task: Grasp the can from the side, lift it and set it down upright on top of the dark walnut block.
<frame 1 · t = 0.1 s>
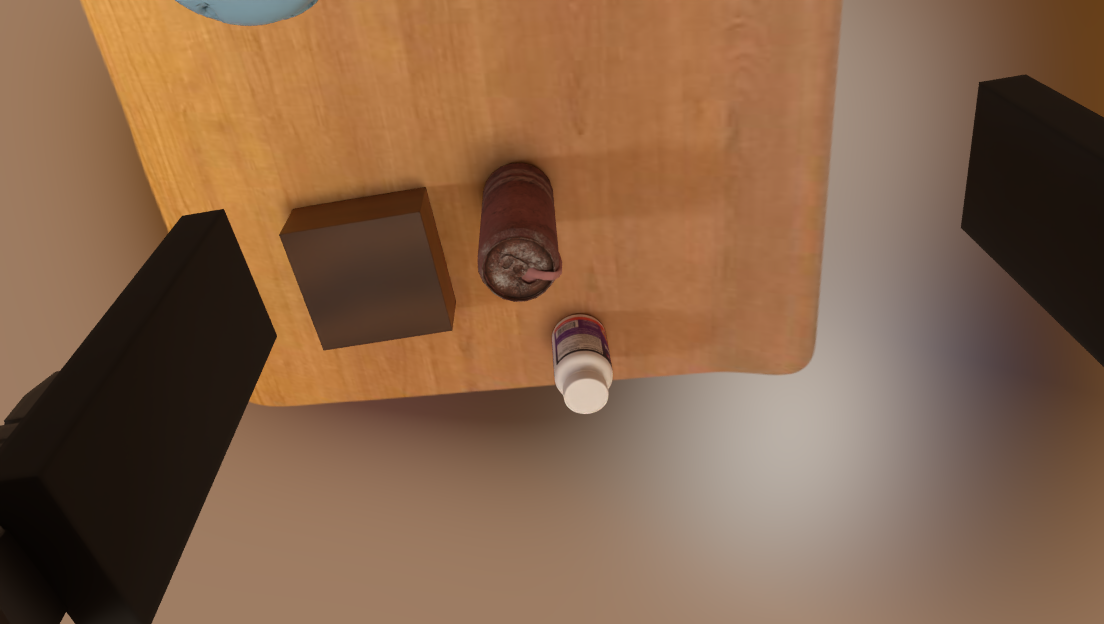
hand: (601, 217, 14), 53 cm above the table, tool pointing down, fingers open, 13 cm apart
walnut block: (377, 257, 75), on the table
can: (519, 192, 72), on the table
pill bottle: (578, 334, 80), on the table
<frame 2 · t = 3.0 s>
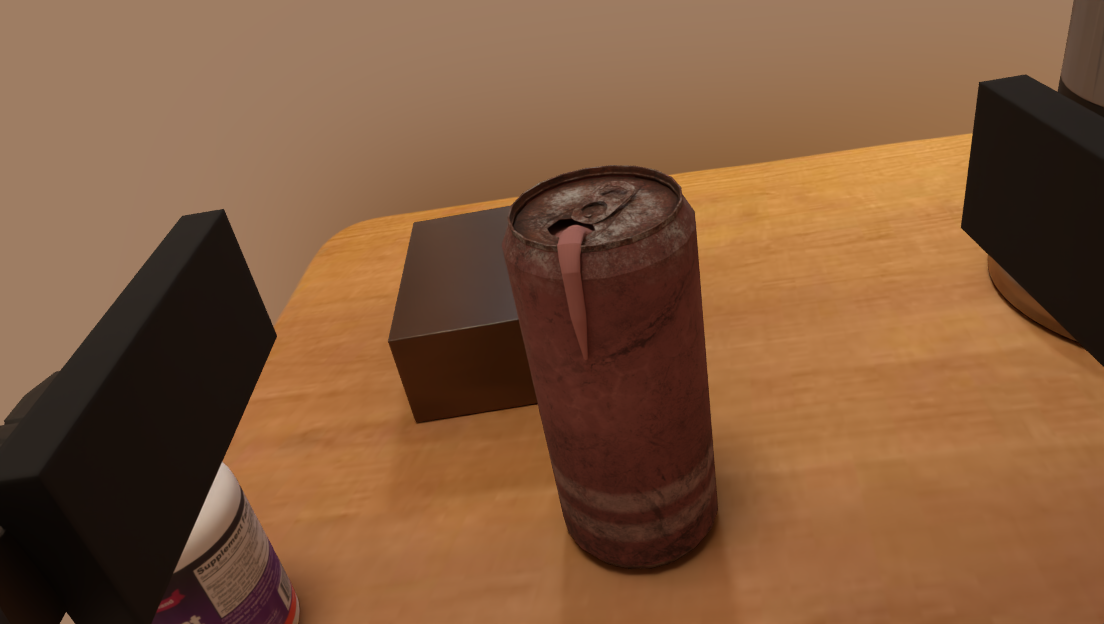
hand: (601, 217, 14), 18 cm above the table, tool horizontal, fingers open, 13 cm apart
walnut block: (533, 333, 44), on the table
can: (641, 519, 33), on the table
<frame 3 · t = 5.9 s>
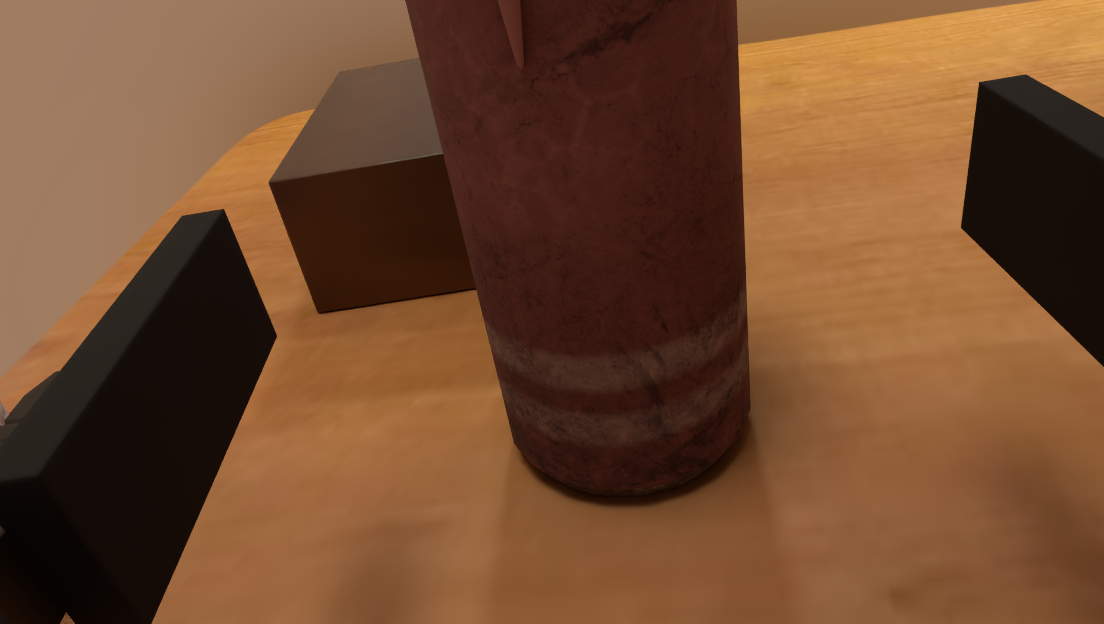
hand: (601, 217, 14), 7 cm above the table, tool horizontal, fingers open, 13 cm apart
walnut block: (491, 211, 33), on the table
can: (629, 428, 21), on the table
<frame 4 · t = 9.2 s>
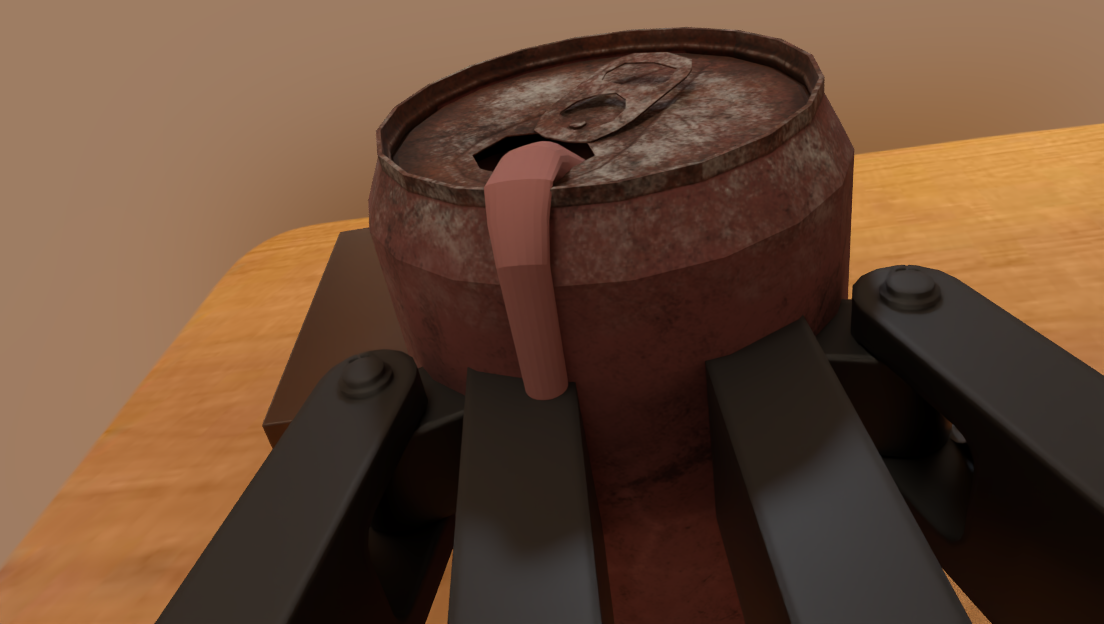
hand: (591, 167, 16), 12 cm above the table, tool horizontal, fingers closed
walnut block: (507, 398, 30), on the table
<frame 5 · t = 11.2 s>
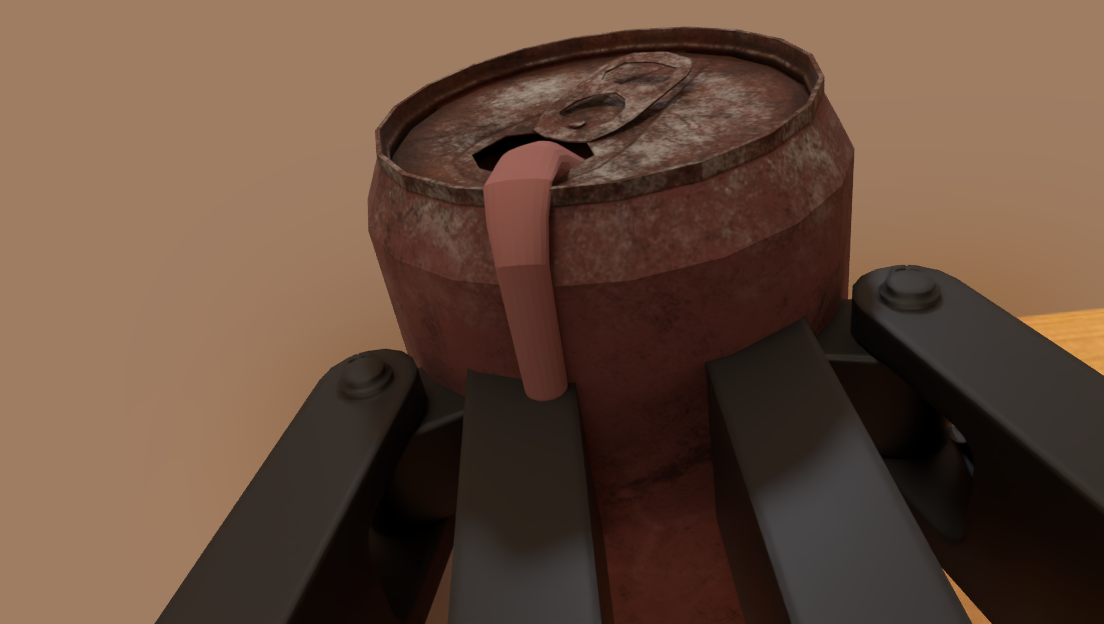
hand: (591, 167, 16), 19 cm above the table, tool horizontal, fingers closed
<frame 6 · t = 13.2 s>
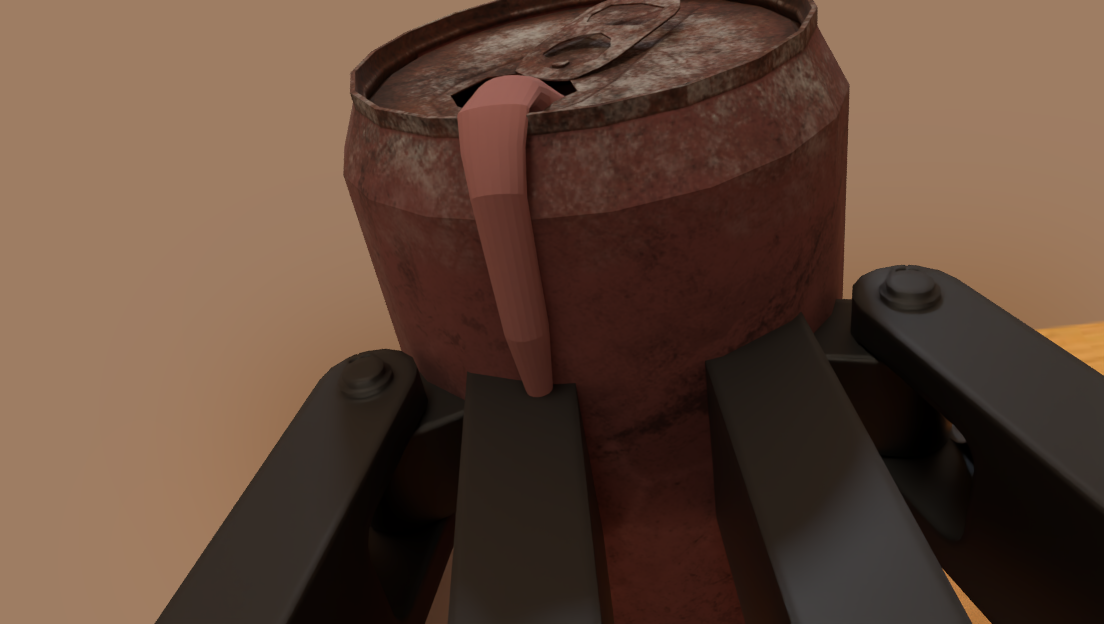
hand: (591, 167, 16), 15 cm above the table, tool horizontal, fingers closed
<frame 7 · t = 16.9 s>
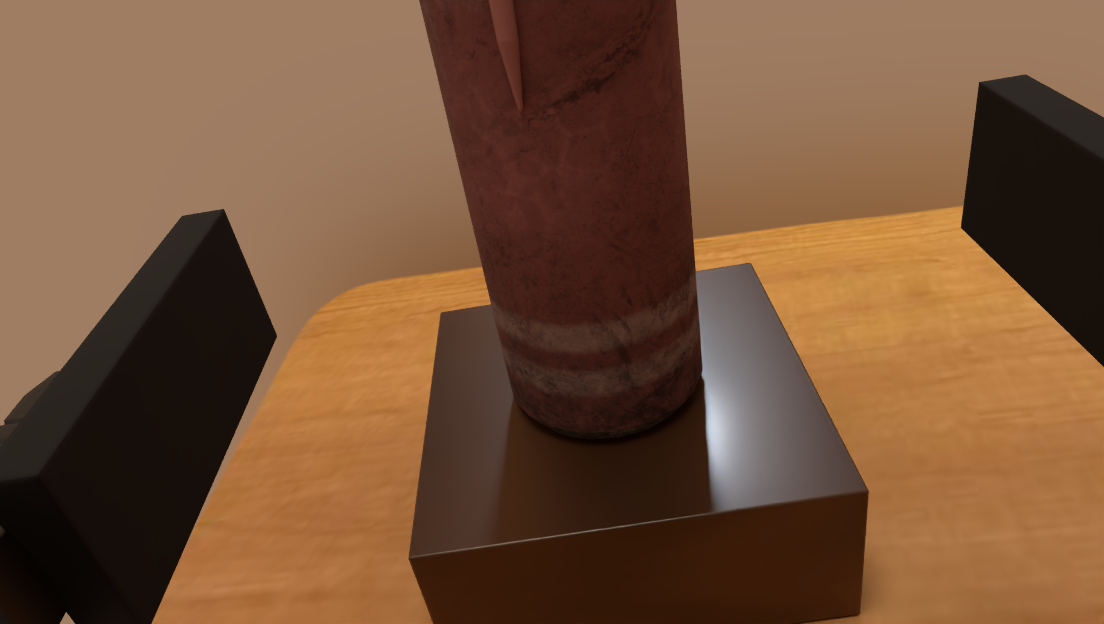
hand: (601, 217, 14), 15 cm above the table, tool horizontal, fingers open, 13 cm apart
walnut block: (627, 493, 29), on the table
can: (607, 389, 26), point 5 cm above the table, touching walnut block
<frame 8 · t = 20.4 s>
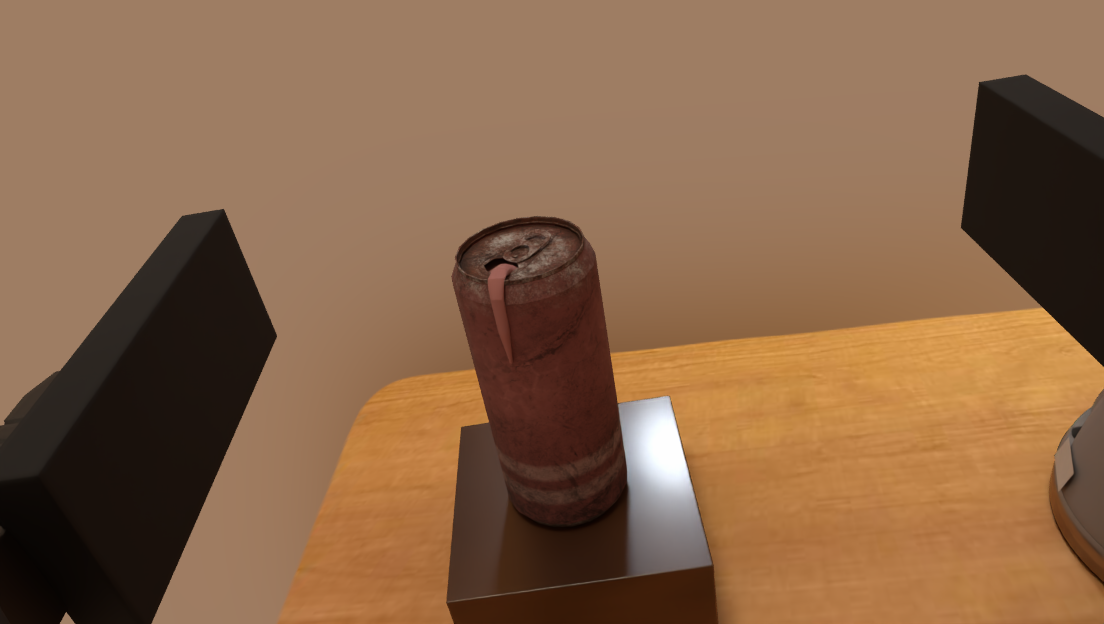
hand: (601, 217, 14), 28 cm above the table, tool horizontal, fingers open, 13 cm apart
walnut block: (584, 553, 44), on the table
can: (568, 490, 41), point 5 cm above the table, touching walnut block
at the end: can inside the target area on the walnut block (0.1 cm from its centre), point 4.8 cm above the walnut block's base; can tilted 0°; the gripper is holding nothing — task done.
